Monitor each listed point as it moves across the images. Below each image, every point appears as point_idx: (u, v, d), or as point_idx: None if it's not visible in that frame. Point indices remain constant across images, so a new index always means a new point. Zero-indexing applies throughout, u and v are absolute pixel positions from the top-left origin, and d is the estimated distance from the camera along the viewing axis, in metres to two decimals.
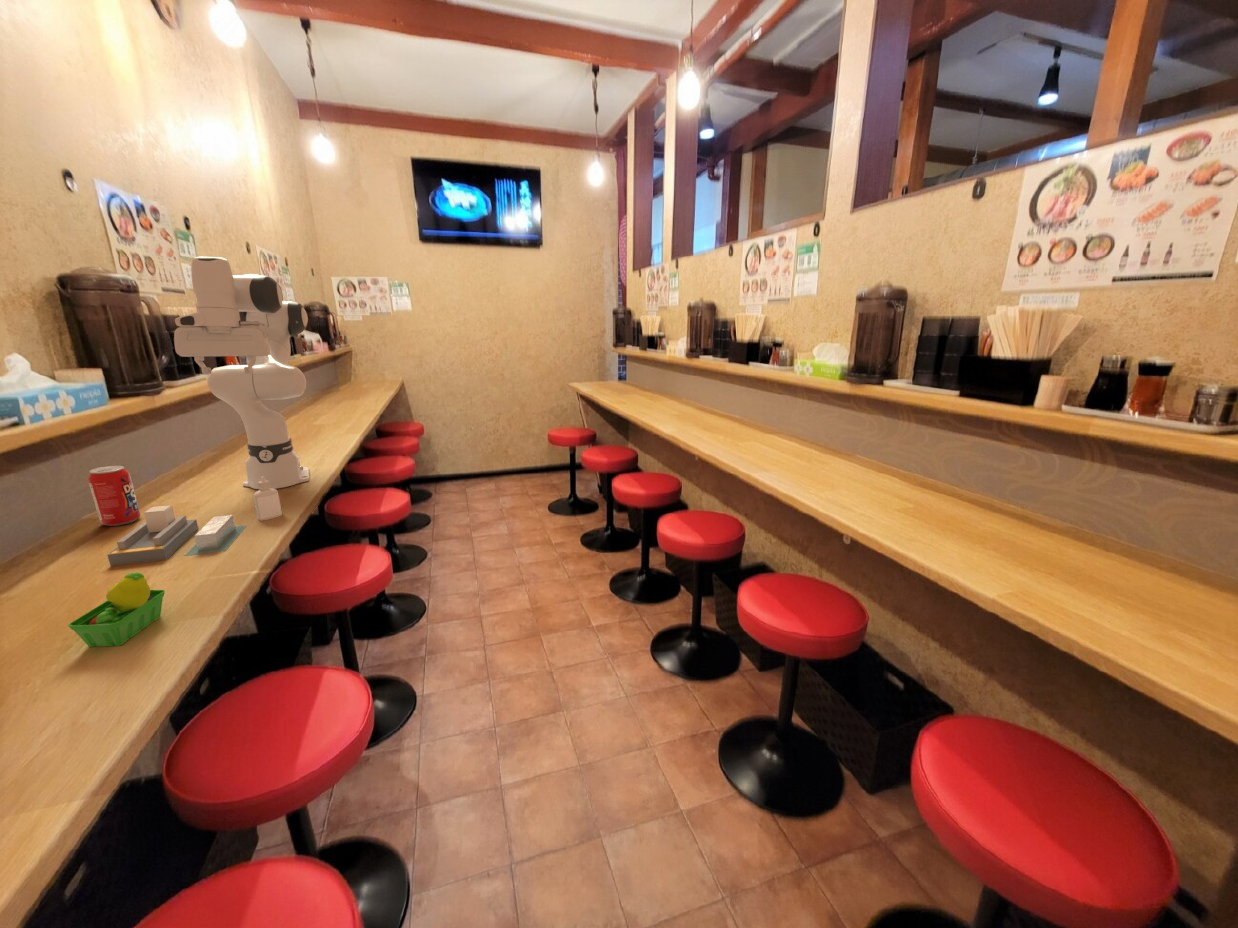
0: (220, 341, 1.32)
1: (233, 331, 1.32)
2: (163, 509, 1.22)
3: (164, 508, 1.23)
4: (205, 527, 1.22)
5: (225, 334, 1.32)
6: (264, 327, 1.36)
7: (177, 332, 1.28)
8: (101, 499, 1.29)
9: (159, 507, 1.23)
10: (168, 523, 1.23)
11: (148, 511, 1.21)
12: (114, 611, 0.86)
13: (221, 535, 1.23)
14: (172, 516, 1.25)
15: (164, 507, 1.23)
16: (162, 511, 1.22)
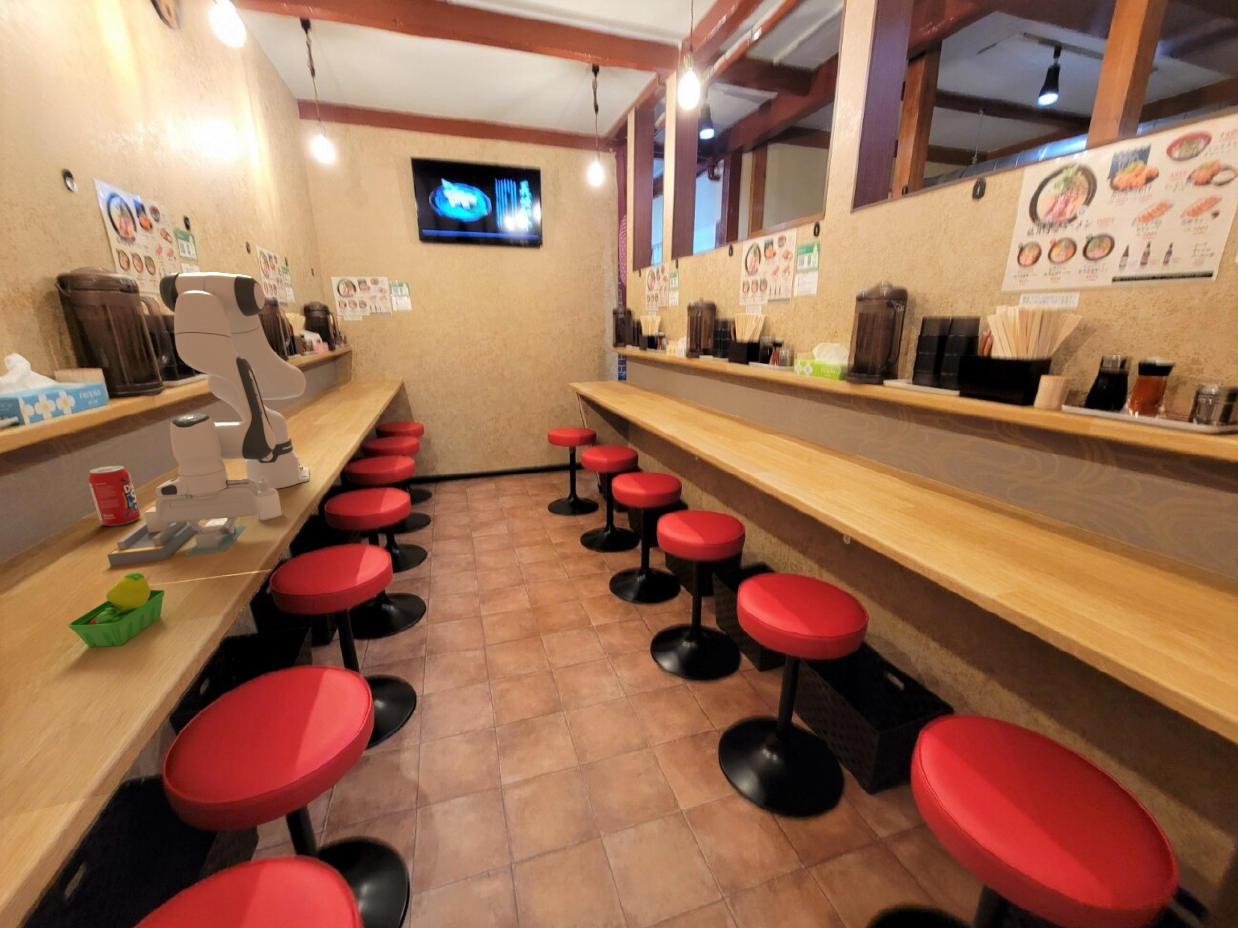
0: (206, 505, 1.21)
1: (220, 494, 1.21)
2: None
3: None
4: (205, 527, 1.22)
5: (211, 497, 1.21)
6: (254, 485, 1.24)
7: (158, 501, 1.17)
8: (101, 499, 1.29)
9: None
10: None
11: (148, 511, 1.21)
12: (114, 611, 0.86)
13: (221, 535, 1.23)
14: None
15: None
16: None
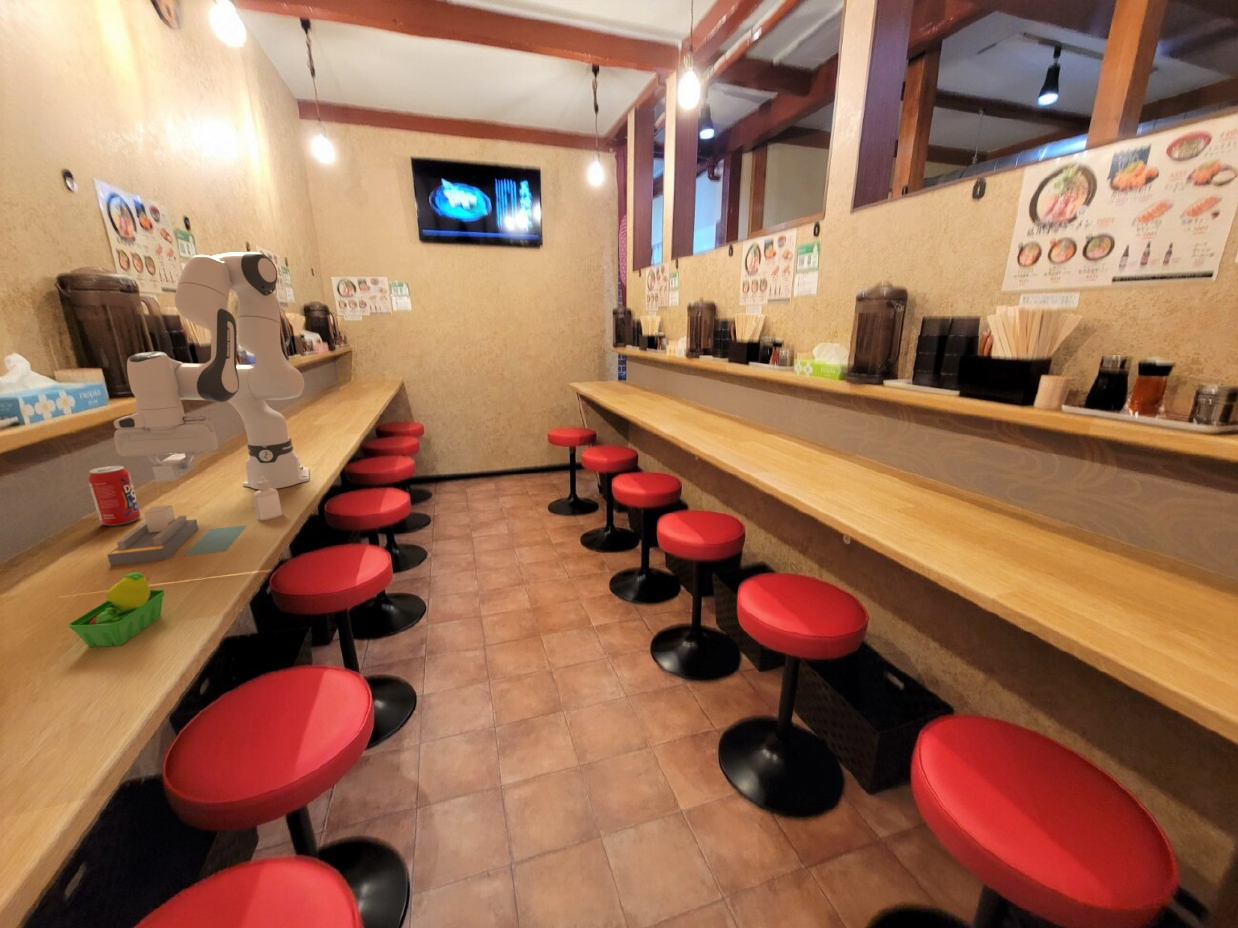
0: (164, 439, 1.27)
1: (177, 429, 1.28)
2: (163, 509, 1.22)
3: (164, 508, 1.23)
4: (164, 461, 1.29)
5: (169, 432, 1.27)
6: (210, 422, 1.31)
7: (117, 434, 1.23)
8: (101, 499, 1.29)
9: (159, 507, 1.23)
10: (168, 523, 1.23)
11: (148, 511, 1.21)
12: (114, 611, 0.86)
13: (178, 469, 1.29)
14: (172, 516, 1.25)
15: (164, 507, 1.23)
16: (162, 511, 1.22)
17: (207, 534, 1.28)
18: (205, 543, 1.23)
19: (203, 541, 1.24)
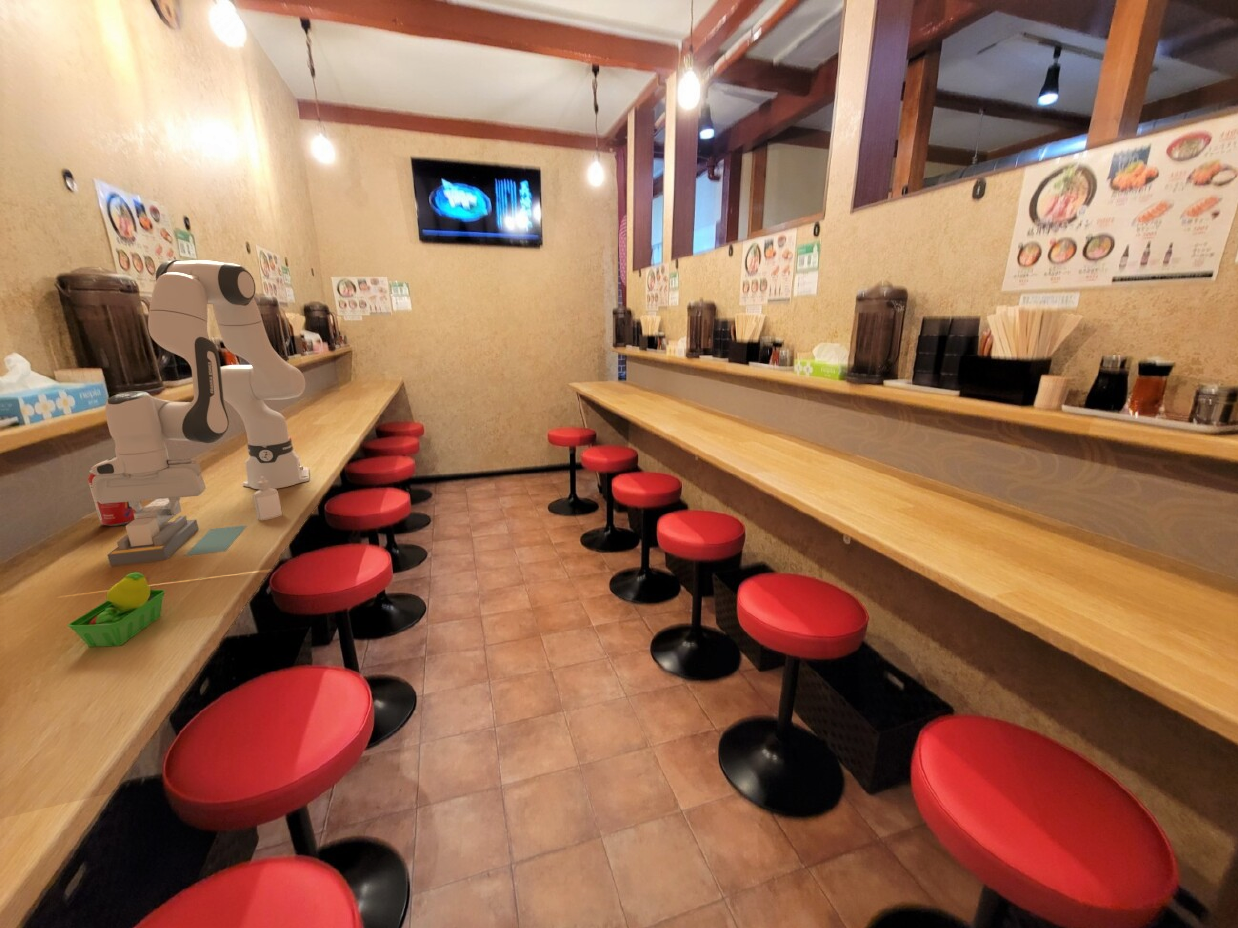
0: (146, 485, 1.19)
1: (160, 474, 1.19)
2: (146, 521, 1.15)
3: (148, 520, 1.16)
4: (147, 507, 1.20)
5: (151, 477, 1.19)
6: (196, 465, 1.22)
7: (95, 481, 1.15)
8: None
9: (142, 519, 1.16)
10: (152, 536, 1.16)
11: (130, 524, 1.14)
12: (114, 611, 0.86)
13: (163, 515, 1.21)
14: (156, 529, 1.18)
15: (148, 519, 1.16)
16: (145, 523, 1.14)
17: (207, 534, 1.28)
18: (205, 543, 1.23)
19: (203, 541, 1.24)
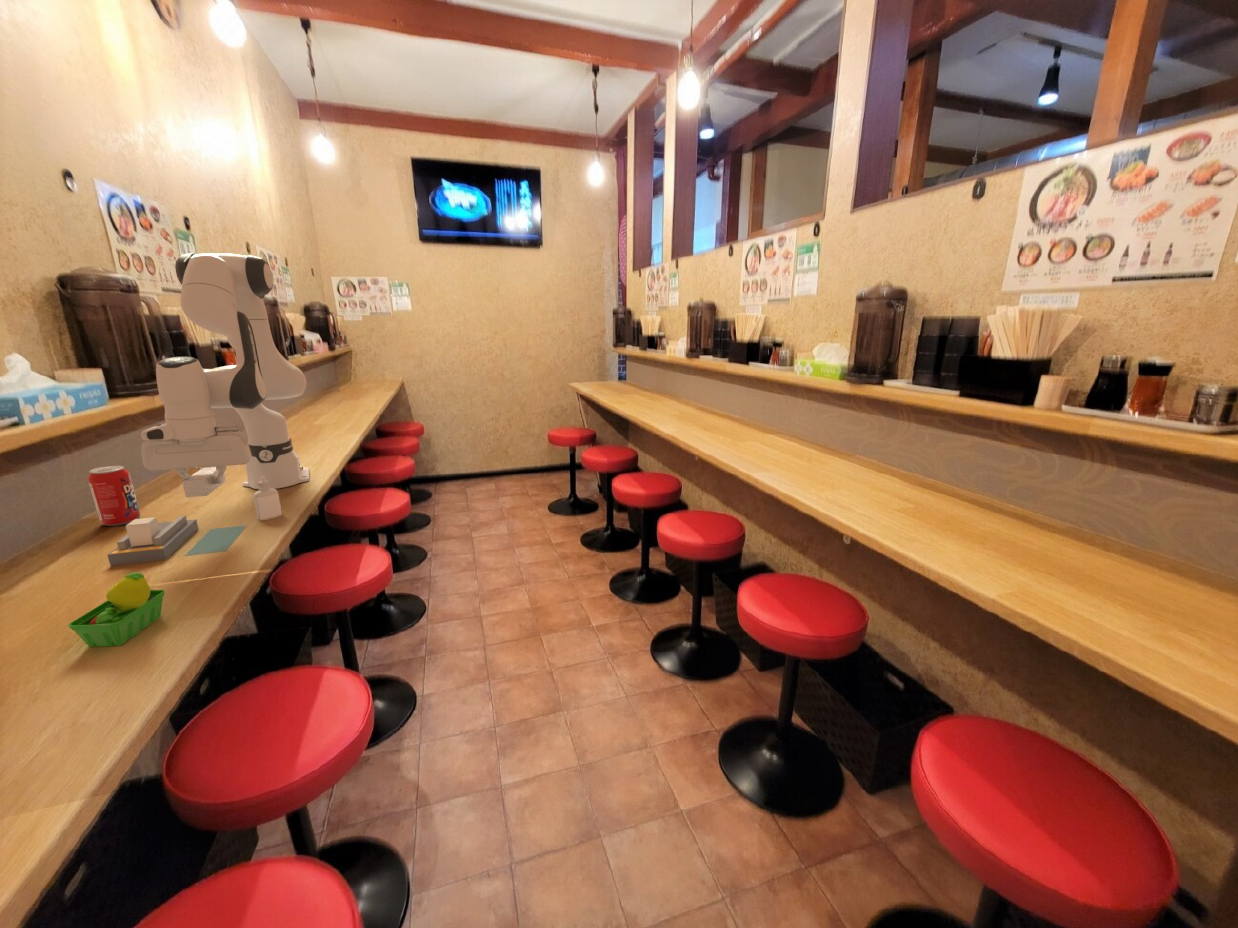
0: (194, 452, 1.17)
1: (208, 441, 1.17)
2: (146, 521, 1.15)
3: (148, 520, 1.16)
4: (194, 475, 1.19)
5: (199, 444, 1.17)
6: (244, 433, 1.21)
7: (144, 446, 1.13)
8: (101, 499, 1.29)
9: (142, 519, 1.16)
10: (152, 536, 1.16)
11: (130, 524, 1.14)
12: (114, 611, 0.86)
13: (210, 483, 1.19)
14: (156, 529, 1.18)
15: (148, 519, 1.16)
16: (145, 523, 1.14)
17: (207, 534, 1.28)
18: (205, 543, 1.23)
19: (203, 541, 1.24)
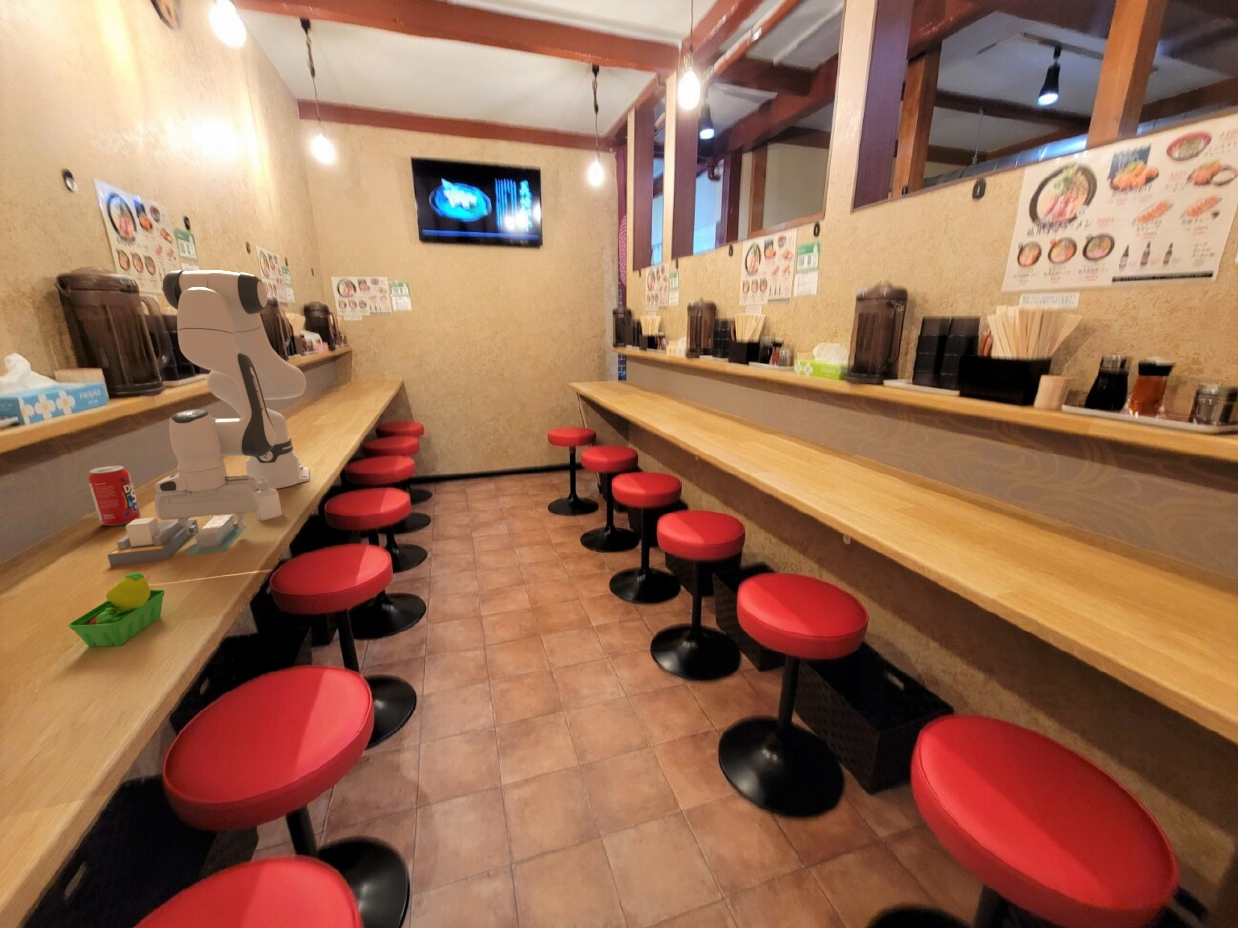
0: (205, 501, 1.21)
1: (219, 490, 1.21)
2: (146, 521, 1.15)
3: (148, 520, 1.16)
4: (206, 527, 1.23)
5: (211, 494, 1.21)
6: (253, 481, 1.24)
7: (157, 498, 1.17)
8: (101, 499, 1.29)
9: (142, 519, 1.16)
10: (152, 536, 1.16)
11: (130, 524, 1.14)
12: (114, 611, 0.86)
13: (221, 535, 1.23)
14: (156, 529, 1.18)
15: (148, 519, 1.16)
16: (145, 523, 1.14)
17: None
18: None
19: None
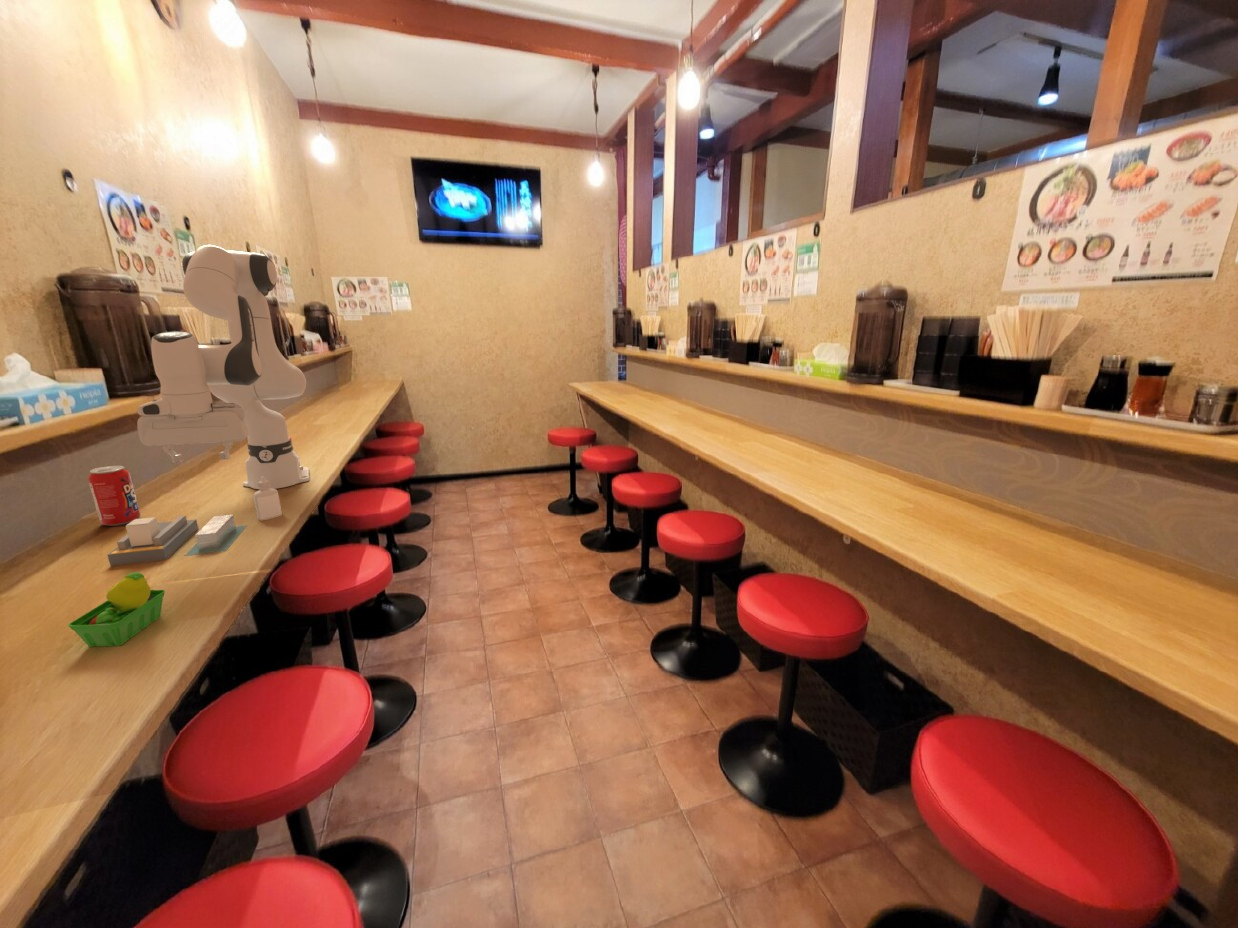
0: (190, 428, 1.17)
1: (205, 417, 1.17)
2: (146, 521, 1.15)
3: (148, 520, 1.16)
4: (206, 527, 1.23)
5: (196, 420, 1.17)
6: (240, 409, 1.20)
7: (140, 422, 1.13)
8: (101, 499, 1.29)
9: (142, 519, 1.16)
10: (152, 536, 1.16)
11: (130, 524, 1.14)
12: (114, 611, 0.86)
13: (221, 535, 1.23)
14: (156, 529, 1.18)
15: (148, 519, 1.16)
16: (145, 523, 1.14)
17: None
18: None
19: None
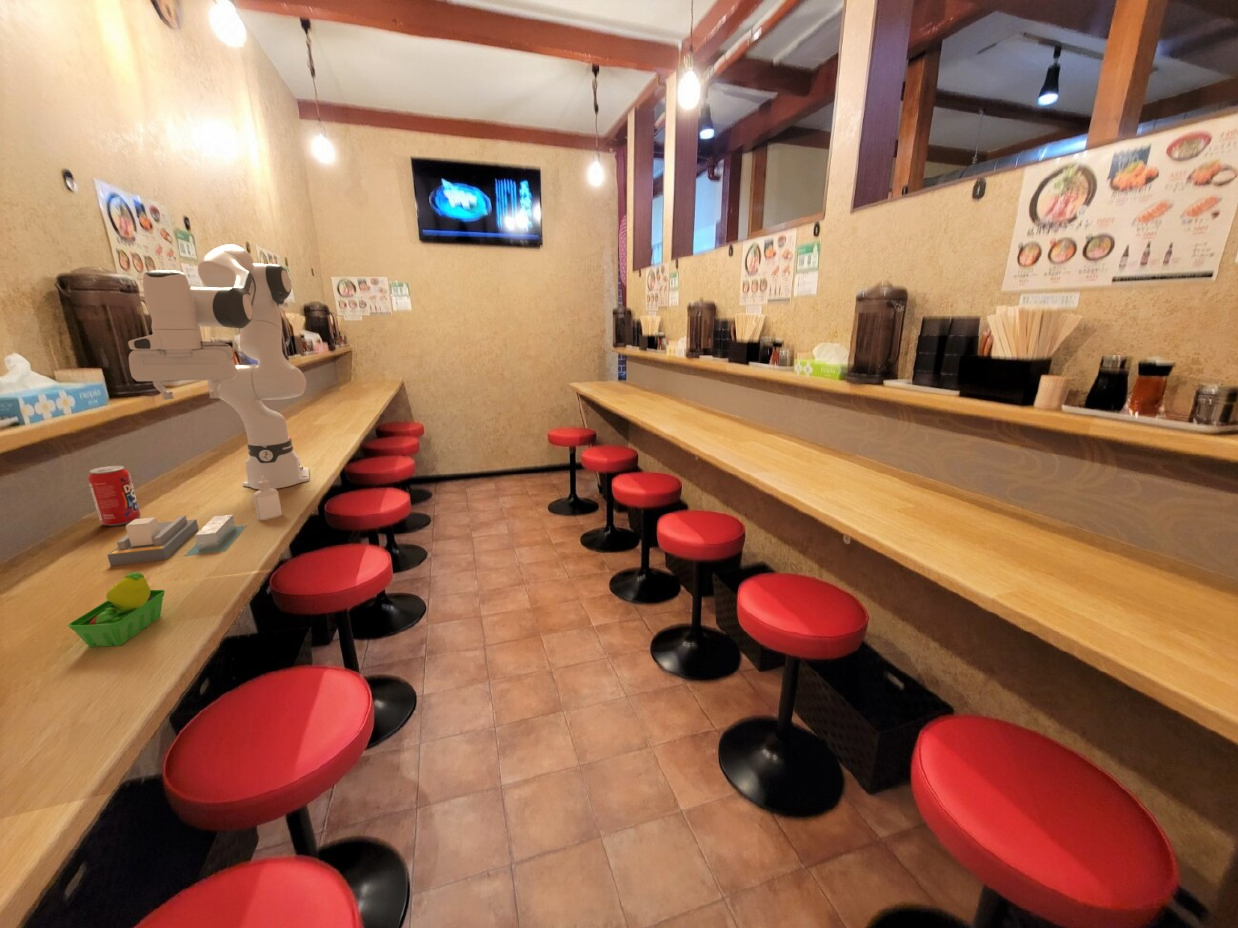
0: (181, 364, 1.21)
1: (194, 354, 1.21)
2: (146, 521, 1.15)
3: (148, 520, 1.16)
4: (206, 527, 1.23)
5: (186, 357, 1.20)
6: (229, 348, 1.24)
7: (132, 356, 1.16)
8: (101, 499, 1.29)
9: (142, 519, 1.16)
10: (152, 536, 1.16)
11: (130, 524, 1.14)
12: (114, 611, 0.86)
13: (221, 535, 1.23)
14: (156, 529, 1.18)
15: (148, 519, 1.16)
16: (145, 523, 1.14)
17: None
18: None
19: None
